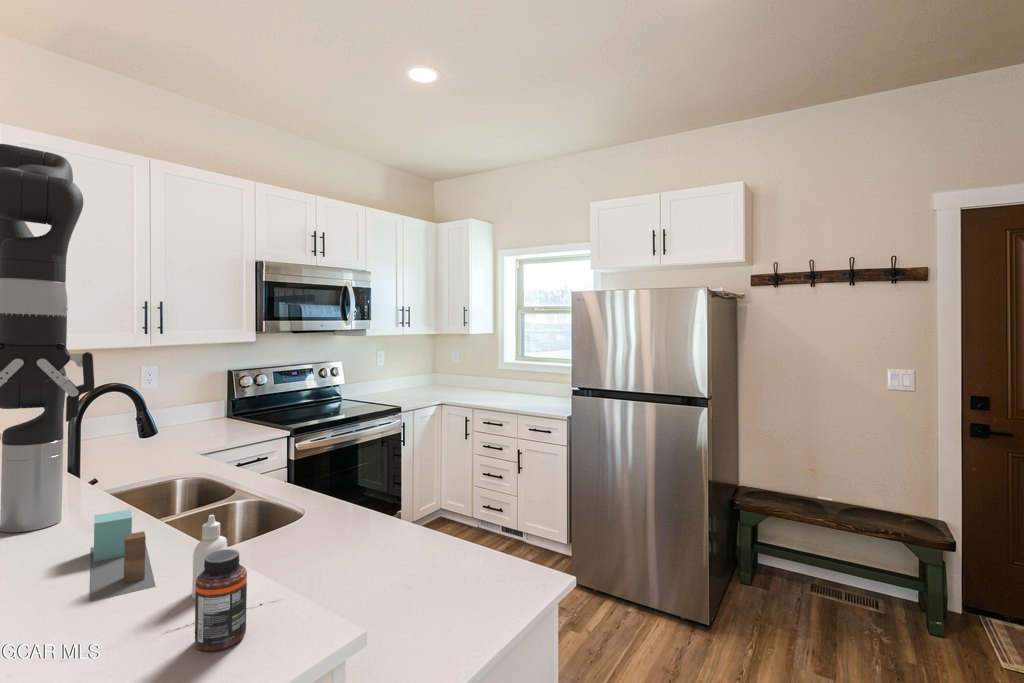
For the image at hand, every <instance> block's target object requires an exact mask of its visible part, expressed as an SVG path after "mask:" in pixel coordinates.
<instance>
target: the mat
mask: <svg viewBox="0 0 1024 683" xmlns="http://www.w3.org/2000/svg"><path fill="white" fill-rule="evenodd" d="M146 542H147V541H145V580H140V581H136V582H131V583H127V584H124V556H120V557H115V558H110V559H105V560H100V561H95V562H94V546H91V547H90V564H89V565H90V566H89V567H90V569H89V571H90V573H89V578H90V579H89V603H93V602H96V601H101V600H104V599H110V598H113V597H118V596H123V595H126V594H129V593H134V592H139V591H143V590H148V589H151V588H155V587H157V586H156V582H155V577H154V573H153V569H152V565H151V560H150V557H149V552H148V547H147V543H146Z"/></svg>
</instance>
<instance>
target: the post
mask: <svg viewBox="0 0 1024 683" xmlns="http://www.w3.org/2000/svg"><path fill="white" fill-rule="evenodd" d="M146 537H147V536H146V533H145V530H144V531H138V532H132V534H126V535H125V542H124V584H127V583H131V582H136V581H140V580H145V542H146Z"/></svg>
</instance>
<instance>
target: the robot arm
mask: <svg viewBox="0 0 1024 683" xmlns="http://www.w3.org/2000/svg"><path fill="white" fill-rule="evenodd" d="M83 208H84V197H83V193H82V191H81V190H80V188H79V187H78V185H77V184H75V183H74V176H73V169H72V165H71V164H70V162H69V160H67V159H66V157H64V156H62V155H59V154H56V153H53V152H50V151H49V152H48V151H43V150H39V149H33V148H28V147H23V146H18V145H12V144H7V143H6V144H5V143H0V409H2V410H15V409H16V410H17V409H18V410H19V409H35V408H36V409H37V408H39V409H40V408H43V410H44V411H43V412H42V413H41V414H39V415H38V416H35V417H34V418H32V419H29V420H28V421H25V422H21V423H18V424H15V425H13V426H9V427H7V428H5V429H4V430H3V431H2V435H1V471H0V472H1V474H0V475H1V477H0V478H1V479H0V531H1V532H4V533H23V532H24V533H25V532H31V531H36V530H41V529H44V528H49V527H50V526H53V525H57V524H58V523H59V522H61V521H62V515H63V514H62V512H63V479H64V478H63V476H64V475H63V474H64V473H63V472H64V467H63V466H64V412H65V411H66V412H65V422H67V423H68V422H73V420H74V418H77V417H78V416H79V411H80V396H81V395H83V394H86V393H91V392H93V391H94V390H95V375H94V374H95V371H94V354H93V353H92V352H91V351H85V352H82V353H81V352H79V353H70V352H69V351H68V349H67V336H68V335H67V334H68V333H67V332H68V331H67V330H68V327H67V326H68V309H69V308H68V292H67V288H66V285H67V284H66V281H67V256H68V255H67V254H68V249H69V244H70V242H71V238H72V235H73V232H74V230H75V228H76V225H77V223H78V221H79V219H80V217H81V214H82V212H83ZM27 223H33V224H41V225H49V226H50V229H49V230H48V231H47V232H46V233H44V234H43V235H37V236H35V234H33V232H32V231H31V230H30V228H29V226H28V224H27ZM70 361H73V362H74V363H75V365H76V366H77V367H78V368H82V376H83V384H79V385H76V384H75V383H74V382H72V381H71V379H70V378H69V377H68V376H67V373H66V372H67V371H66V368H65V366H66V365H67V364H68V363H70ZM66 394H67V396H66ZM65 402H66V405H65ZM65 406H66V408H65ZM65 409H66V410H65ZM64 410H65V411H64Z"/></svg>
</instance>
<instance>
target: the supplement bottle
mask: <svg viewBox="0 0 1024 683" xmlns="http://www.w3.org/2000/svg"><path fill="white" fill-rule="evenodd" d="M204 568H205V569H204V571H203V572H202V573H200V575H199V576H198V577H197V579H196V589H195V590H196V593H195V595H196V596H195V603H194V604H195V605H194V606H195V607H194V644H195V647H196V648H197V649H199V650H201V651H203V652H216V651H222V650H221V649H223V650H226V649H229V648H230V647H232V646H234V645H236V644H237V643H239V642H240V641H241V640H242V639H243V638H244V637H245V634H246V632H247V596H248V593H247V591H248V586H247V585H248V583H247V582H248V573H247V572H248V571H247V569H246V567H245V566H243V565H242V564H240V552H239V551H238V550H236V549H228V548H227V549H226V550H219V551H215V552H213V553H210V554H209V555H207V556H206V557H205V562H204ZM225 648H226V649H225Z"/></svg>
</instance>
